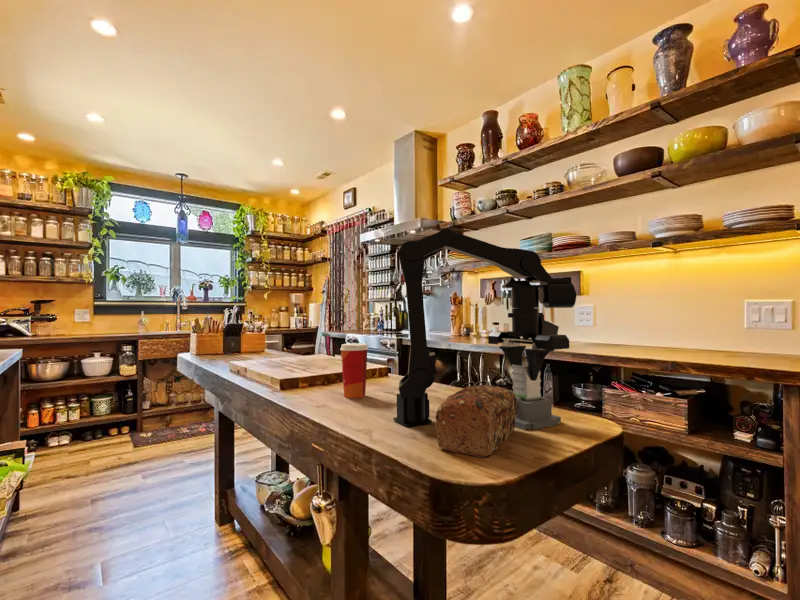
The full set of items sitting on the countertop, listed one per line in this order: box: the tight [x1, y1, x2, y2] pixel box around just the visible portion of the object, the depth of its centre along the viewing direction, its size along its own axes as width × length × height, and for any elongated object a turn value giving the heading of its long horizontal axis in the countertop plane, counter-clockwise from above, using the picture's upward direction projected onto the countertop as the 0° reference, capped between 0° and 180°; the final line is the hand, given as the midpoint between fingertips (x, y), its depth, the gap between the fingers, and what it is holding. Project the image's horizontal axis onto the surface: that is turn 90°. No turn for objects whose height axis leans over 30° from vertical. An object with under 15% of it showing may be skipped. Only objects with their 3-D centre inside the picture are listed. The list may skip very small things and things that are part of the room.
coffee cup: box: [339, 342, 369, 399], centre depth 115 cm, size 8×8×15 cm
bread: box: [435, 384, 516, 458], centre depth 77 cm, size 19×11×10 cm, turn 150°
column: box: [511, 362, 542, 402], centre depth 89 cm, size 5×4×8 cm
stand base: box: [515, 396, 562, 431], centre depth 88 cm, size 11×11×6 cm
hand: (526, 378), depth 89 cm, fingers closed on column, 4 cm apart
